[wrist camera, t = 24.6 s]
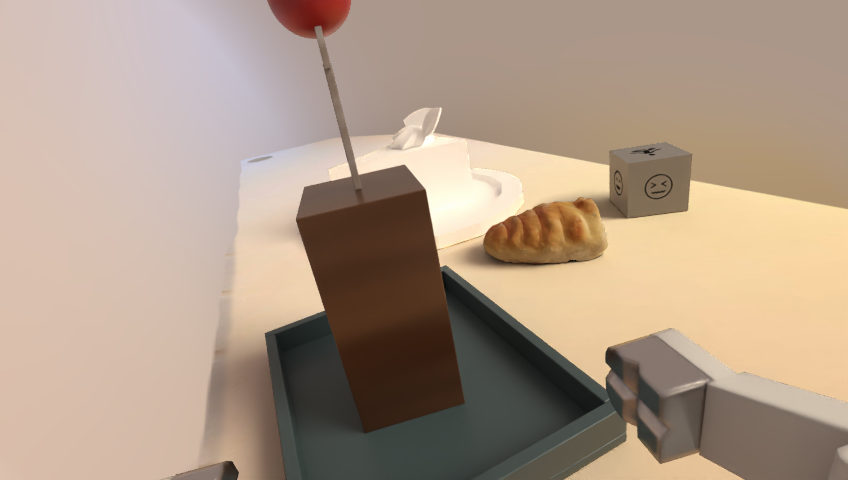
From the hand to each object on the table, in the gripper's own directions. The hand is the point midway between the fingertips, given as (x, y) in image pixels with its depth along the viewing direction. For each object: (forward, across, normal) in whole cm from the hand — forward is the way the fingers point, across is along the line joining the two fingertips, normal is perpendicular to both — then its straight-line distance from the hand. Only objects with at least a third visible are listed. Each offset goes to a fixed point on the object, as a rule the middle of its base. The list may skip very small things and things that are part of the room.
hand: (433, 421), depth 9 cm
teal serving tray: (+11, 0, -9) cm, 14 cm away
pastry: (+22, +14, -9) cm, 28 cm away
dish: (+40, +5, -9) cm, 41 cm away
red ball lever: (+11, 0, -8) cm, 14 cm away
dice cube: (+26, +25, -9) cm, 37 cm away
